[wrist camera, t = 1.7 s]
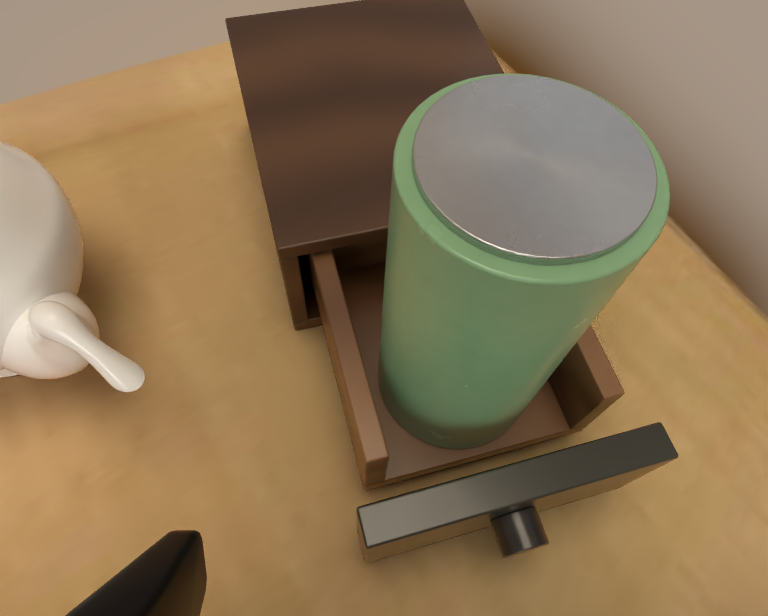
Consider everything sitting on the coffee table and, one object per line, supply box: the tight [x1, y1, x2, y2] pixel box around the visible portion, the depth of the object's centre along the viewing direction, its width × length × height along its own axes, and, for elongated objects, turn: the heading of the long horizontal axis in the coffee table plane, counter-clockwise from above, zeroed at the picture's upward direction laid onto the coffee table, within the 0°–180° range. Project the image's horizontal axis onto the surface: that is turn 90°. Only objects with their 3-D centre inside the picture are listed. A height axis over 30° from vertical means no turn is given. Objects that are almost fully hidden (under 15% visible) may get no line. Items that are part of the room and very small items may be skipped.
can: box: [378, 73, 670, 449], centre depth 17 cm, size 6×6×12 cm
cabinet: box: [226, 0, 504, 330], centre depth 27 cm, size 13×11×6 cm
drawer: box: [307, 238, 678, 563], centre depth 22 cm, size 14×10×5 cm
